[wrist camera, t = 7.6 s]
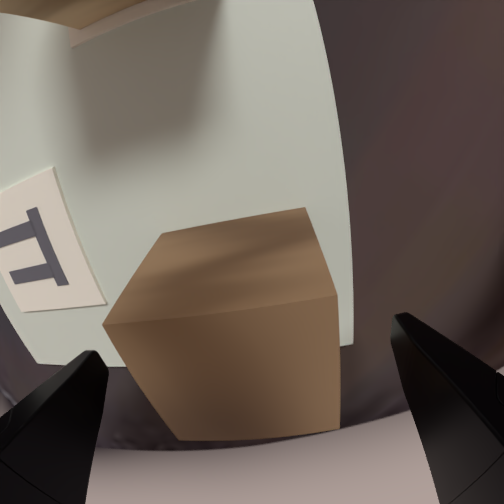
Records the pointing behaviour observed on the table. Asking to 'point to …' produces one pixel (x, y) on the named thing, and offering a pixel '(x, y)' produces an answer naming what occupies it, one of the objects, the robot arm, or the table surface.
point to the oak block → (66, 10)
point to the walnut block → (234, 330)
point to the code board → (156, 151)
